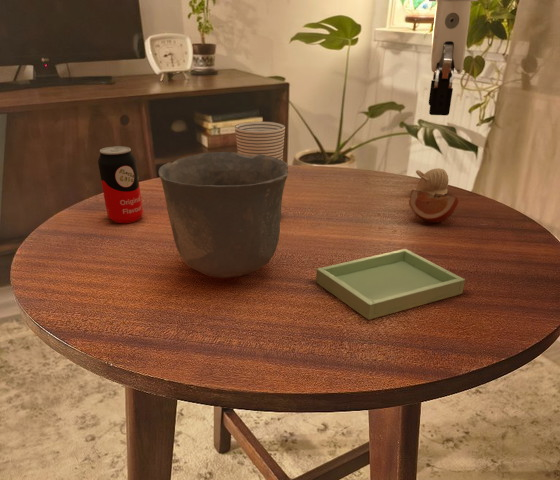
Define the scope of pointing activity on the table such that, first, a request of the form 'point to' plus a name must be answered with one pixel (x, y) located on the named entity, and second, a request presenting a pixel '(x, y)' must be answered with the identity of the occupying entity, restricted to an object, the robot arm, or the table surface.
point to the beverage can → (120, 184)
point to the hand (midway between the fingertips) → (438, 110)
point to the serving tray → (389, 283)
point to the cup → (260, 139)
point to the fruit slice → (432, 205)
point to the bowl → (225, 210)
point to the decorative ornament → (433, 181)
